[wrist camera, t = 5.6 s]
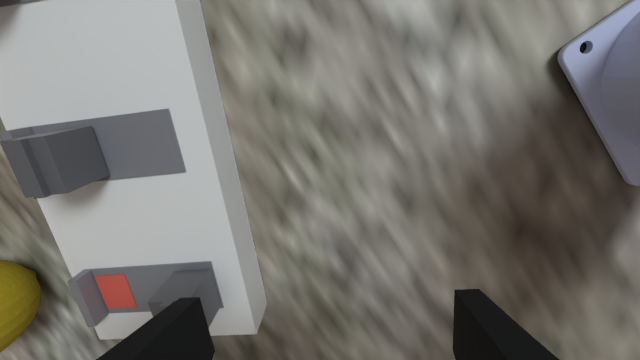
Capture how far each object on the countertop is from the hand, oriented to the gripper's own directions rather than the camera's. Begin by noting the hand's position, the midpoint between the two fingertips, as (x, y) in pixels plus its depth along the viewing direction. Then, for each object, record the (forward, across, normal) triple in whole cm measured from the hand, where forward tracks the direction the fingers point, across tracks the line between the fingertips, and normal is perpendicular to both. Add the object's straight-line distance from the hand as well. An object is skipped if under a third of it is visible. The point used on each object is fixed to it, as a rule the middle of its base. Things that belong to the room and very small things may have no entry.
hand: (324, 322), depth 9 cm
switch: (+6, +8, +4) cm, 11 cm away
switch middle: (+6, +12, -4) cm, 14 cm away
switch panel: (+9, +10, -4) cm, 15 cm away
